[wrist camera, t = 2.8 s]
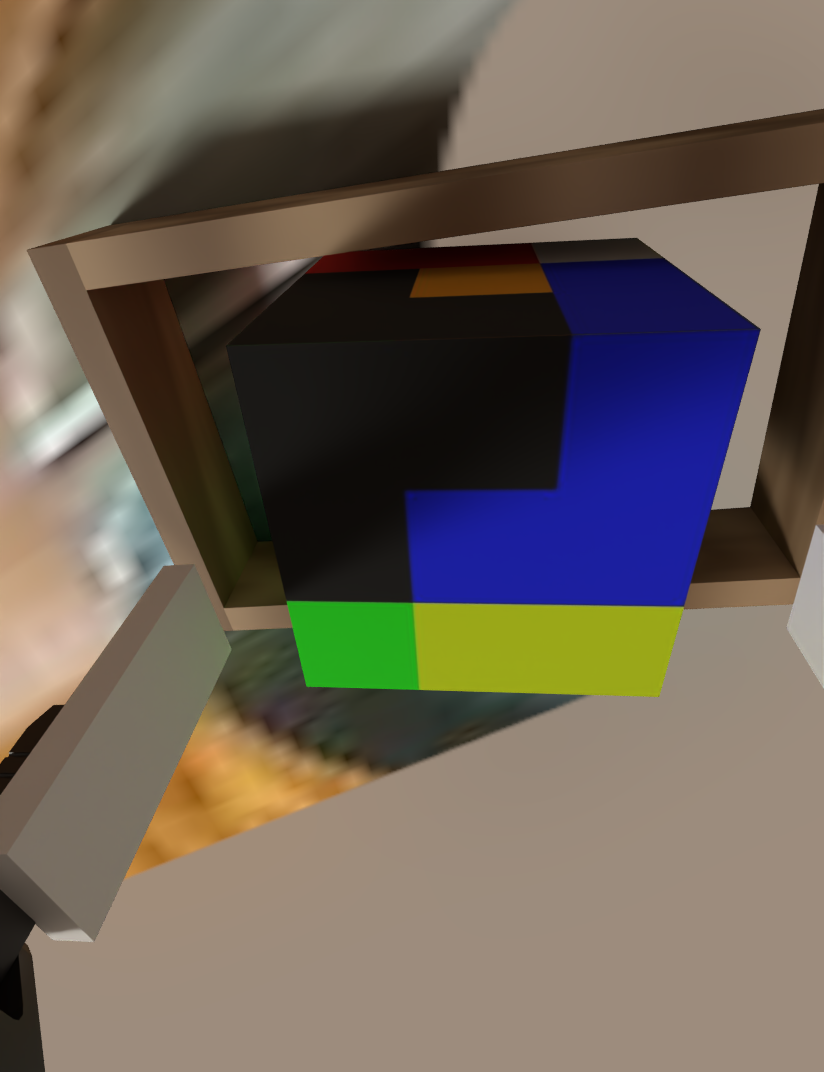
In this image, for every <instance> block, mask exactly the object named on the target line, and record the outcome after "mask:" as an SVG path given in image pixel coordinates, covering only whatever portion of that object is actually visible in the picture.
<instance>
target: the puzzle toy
mask: <svg viewBox="0 0 824 1072" xmlns="http://www.w3.org/2000/svg"><path fill="white" fill-rule="evenodd" d="M760 330H761V329H760V328H758V327H757V326H756V325H754V324H753V323H752V322H750V321H749V320H748V319H746V318H745V317H744V316H742V315H741V314H740V313H738V312H737V311H735V310H734V309H733V308H731V307H730V306H729V305H727V304H726V303H725V302H723V301H722V300H720V299H719V298H718V297H716V296H715V295H714V294H712V293H711V292H709V291H708V290H707V289H705V288H704V287H703V286H701V285H700V284H699V283H697V282H696V281H695V280H693V279H692V278H690V277H689V276H688V275H687V274H685V273H684V272H682V271H681V270H680V269H678V268H677V267H676V266H674V265H673V264H672V263H670V262H669V261H667V260H666V259H665V258H663V257H662V256H661V255H659V254H658V253H656V252H655V251H654V250H653V249H651V248H650V247H648V246H647V245H646V244H644V243H643V242H642V241H640V240H639V239H638V238H620V239H600V240H578V241H557V242H536V243H515V244H493V245H472V246H450V247H433V248H417V249H395V250H374V251H353V252H345V253H339V254H332V255H325V256H323V257H322V258H321V259H320V260H319V261H318V262H317V263H316V264H315V265H314V266H313V267H311V268H310V269H309V270H308V271H307V272H306V273H305V274H304V275H303V276H302V277H301V278H299V279H298V280H297V281H296V282H295V283H294V284H293V285H292V286H291V287H290V288H289V289H287V290H286V291H285V292H284V293H283V294H282V295H281V296H280V297H279V298H278V299H277V300H276V301H274V302H273V303H272V304H271V305H270V306H269V307H268V308H267V309H266V310H265V311H264V312H262V313H261V314H260V315H259V316H258V317H257V318H256V319H255V320H254V321H253V322H252V323H250V324H249V325H248V326H247V327H246V328H245V329H244V330H243V331H242V332H241V333H240V334H238V335H237V336H236V337H235V338H234V339H233V340H232V341H231V342H230V343H229V344H228V345H227V346H226V347H227V351H228V356H229V360H230V364H231V368H232V373H233V377H234V381H235V385H236V390H237V394H238V398H239V402H240V407H241V411H242V415H243V419H244V423H245V428H246V432H247V436H248V440H249V445H250V449H251V453H252V457H253V462H254V466H255V470H256V474H257V479H258V483H259V487H260V491H261V495H262V500H263V504H264V508H265V512H266V517H267V521H268V525H269V529H270V534H271V538H272V542H273V546H274V551H275V555H276V559H277V563H278V567H279V572H280V576H281V580H282V584H283V589H284V593H285V597H286V601H287V606H288V610H289V614H290V618H291V623H292V627H293V631H294V635H295V640H296V644H297V648H298V652H299V656H300V661H301V665H302V669H303V673H304V678H305V682H306V686H311V687H344V688H378V689H412V690H445V691H479V692H512V693H546V694H580V695H614V696H648V697H659V696H660V692H661V688H662V684H663V681H664V677H665V674H666V670H667V666H668V663H669V659H670V656H671V652H672V648H673V645H674V641H675V637H676V634H677V630H678V627H679V623H680V620H681V616H682V612H683V609H684V605H685V601H686V598H687V594H688V591H689V587H690V583H691V580H692V576H693V573H694V569H695V565H696V562H697V558H698V554H699V551H700V547H701V544H702V540H703V536H704V533H705V529H706V526H707V522H708V518H709V515H710V511H711V507H712V504H713V500H714V496H715V493H716V489H717V486H718V482H719V478H720V475H721V471H722V468H723V464H724V460H725V457H726V453H727V450H728V446H729V442H730V439H731V435H732V431H733V428H734V424H735V420H736V417H737V413H738V410H739V406H740V402H741V399H742V395H743V392H744V388H745V384H746V381H747V377H748V373H749V370H750V366H751V363H752V359H753V355H754V352H755V348H756V344H757V341H758V337H759V333H760Z"/></svg>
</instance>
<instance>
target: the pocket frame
mask: <svg viewBox="0 0 824 1072" xmlns="http://www.w3.org/2000/svg"><path fill="white" fill-rule="evenodd" d="M811 184H819V187H818V191H817V196H816V201H815V206H814V210H813V215H812V219H811V224H810V229H809V234H808V238H807V243H806V248H805V253H804V257H803V262H802V266H801V271H800V277H799V281H798V285H797V290H796V295H795V299H794V305H793V309H792V314H791V318H790V323H789V328H788V333H787V337H786V342H785V346H784V351H783V356H782V361H781V365H780V370H779V375H778V379H777V384H776V389H775V393H774V399H773V403H772V408H771V412H770V417H769V422H768V426H767V432H766V436H765V441H764V445H763V450H762V455H761V459H760V464H759V469H758V474H757V479H756V483H755V487H754V493H753V497H752V502H751V506H750V507H746V508H731V509H717V510H711V511H710V515H709V518H708V522H707V526H706V529H705V533H704V536H703V540H702V544H701V547H700V551H699V554H698V558H697V562H696V565H695V569H694V573H693V576H692V580H691V583H690V587H689V591H688V594H687V598H686V601H685V605H684V609H701V608H722V607H743V606H764V605H765V606H766V605H787V604H794V600H795V596H796V593H797V589H798V586H799V582H800V579H801V575H802V572H803V568H804V565H805V561H806V558H807V554H808V551H809V547H810V544H811V540H812V537H813V533H814V530H815V526H816V525H821V524H824V109H820V110H813V111H807V112H801V113H795V114H789V115H783V116H777V117H771V118H764V119H759V120H752V121H746V122H740V123H734V124H728V125H722V126H716V127H710V128H704V129H697V130H691V131H685V132H679V133H673V134H666V135H661V136H654V137H649V138H642V139H636V140H630V141H623V142H617V143H612V144H605V145H599V146H593V147H587V148H581V149H575V150H568V151H562V152H556V153H550V154H544V155H538V156H532V157H526V158H519V159H513V160H507V161H501V162H495V163H489V164H482V165H476V166H470V167H464V168H458V169H452V170H446V171H440V172H433V173H427V174H421V175H415V176H409V177H403V178H397V179H390V180H384V181H378V182H372V183H366V184H360V185H354V186H348V187H341V188H335V189H329V190H323V191H317V192H311V193H305V194H299V195H292V196H286V197H280V198H274V199H268V200H262V201H256V202H249V203H243V204H237V205H231V206H225V207H219V208H213V209H207V210H200V211H194V212H188V213H182V214H176V215H170V216H164V217H158V218H151V219H145V220H139V221H133V222H127V223H121V224H115V225H109V226H105V227H102V228H99V229H95V230H92V231H89V232H85V233H82V234H79V235H75V236H72V237H68V238H65V239H62V240H58V241H55V242H52V243H48V244H45V245H42V246H38V247H35V248H31V249H28V250H27V252H28V254H29V256H30V258H31V261H32V263H33V265H34V267H35V269H36V271H37V273H38V276H39V278H40V280H41V282H42V284H43V286H44V288H45V290H46V293H47V295H48V297H49V299H50V301H51V303H52V305H53V307H54V310H55V312H56V314H57V316H58V318H59V320H60V322H61V325H62V327H63V329H64V331H65V333H66V335H67V337H68V339H69V342H70V344H71V346H72V348H73V350H74V352H75V354H76V356H77V359H78V361H79V363H80V365H81V367H82V369H83V371H84V374H85V376H86V378H87V380H88V382H89V384H90V386H91V388H92V391H93V393H94V395H95V397H96V399H97V401H98V403H99V405H100V408H101V410H102V412H103V414H104V416H105V418H106V420H107V423H108V425H109V427H110V429H111V431H112V433H113V435H114V437H115V440H116V442H117V444H118V446H119V448H120V450H121V452H122V454H123V457H124V459H125V461H126V463H127V465H128V467H129V469H130V472H131V474H132V476H133V478H134V480H135V482H136V484H137V486H138V489H139V491H140V493H141V495H142V497H143V499H144V501H145V503H146V506H147V508H148V510H149V512H150V514H151V516H152V518H153V521H154V523H155V525H156V527H157V529H158V531H159V533H160V535H161V538H162V540H163V542H164V544H165V546H166V548H167V550H168V552H169V555H170V557H171V559H172V561H173V563H174V565H186V564H195V567H196V569H197V571H198V573H199V576H200V578H201V580H202V583H203V585H204V587H205V589H206V592H207V594H208V596H209V599H210V601H211V603H212V606H213V608H214V610H215V612H216V615H217V617H218V619H219V622H220V624H221V626H222V628H223V631H231V630H252V629H274V628H293V627H292V623H291V618H290V614H289V610H288V606H287V601H286V597H285V593H284V589H283V584H282V580H281V576H280V572H279V567H278V563H277V559H276V555H275V551H274V546H273V542H272V541H263V542H257V539H256V536H255V533H254V531H253V528H252V525H251V522H250V519H249V517H248V514H247V511H246V508H245V505H244V503H243V500H242V497H241V494H240V491H239V489H238V486H237V483H236V480H235V478H234V475H233V472H232V469H231V466H230V464H229V461H228V458H227V455H226V452H225V450H224V447H223V444H222V441H221V439H220V436H219V433H218V430H217V427H216V425H215V422H214V419H213V416H212V413H211V411H210V408H209V405H208V402H207V399H206V397H205V394H204V391H203V388H202V386H201V383H200V380H199V377H198V374H197V372H196V369H195V366H194V363H193V360H192V358H191V355H190V352H189V349H188V347H187V344H186V341H185V338H184V335H183V333H182V330H181V327H180V324H179V321H178V319H177V316H176V313H175V310H174V307H173V305H172V302H171V299H170V296H169V294H168V291H167V288H166V285H165V282H164V280H163V279H167V278H174V277H181V276H188V275H194V274H201V273H208V272H215V271H222V270H229V269H236V268H242V267H249V266H256V265H263V264H270V263H277V262H284V261H291V260H297V259H304V258H311V257H318V256H325V255H332V254H339V253H345V252H352V251H359V250H366V249H373V248H380V247H387V246H394V245H400V244H407V243H414V242H421V241H428V240H435V239H441V238H448V237H455V236H462V235H469V234H476V233H482V232H490V231H496V230H503V229H510V228H517V227H524V226H531V225H537V224H545V223H551V222H558V221H565V220H572V219H579V218H586V217H593V216H599V215H606V214H613V213H620V212H627V211H634V210H641V209H647V208H654V207H661V206H668V205H674V204H682V203H689V202H696V201H702V200H709V199H716V198H723V197H730V196H737V195H744V194H750V193H757V192H764V191H771V190H778V189H784V188H792V187H798V186H805V185H811Z"/></svg>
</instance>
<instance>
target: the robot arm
mask: <svg viewBox="0 0 824 1072" xmlns="http://www.w3.org/2000/svg"><path fill="white" fill-rule="evenodd" d="M787 630H788V631H789V633H790V634H791V636H792V638H793V639H794V641H795V643H796V644H797V646H798V648H799V649H800V651H801V652H802V654H803V656H804V657H805V659H806V661H807V662H808V664H809V665H810V667H811V669H812V670H813V672H814V673H815V675H816V677H817V678H818V680H819V681H820V683H821V685H822V686H823V688H824V524H821V525H816V526H815V530H814V533H813V537H812V540H811V544H810V547H809V551H808V554H807V558H806V561H805V565H804V568H803V572H802V575H801V579H800V582H799V586H798V589H797V593H796V596H795V600H794V604H793V607H792V611H791V614H790V618H789V621H788V625H787ZM231 650H232V649H231V647H230V645H229V642H228V640H227V638H226V635H225V633H224V631H223V628H222V626H221V624H220V622H219V619H218V617H217V615H216V612H215V610H214V608H213V606H212V603H211V601H210V599H209V596H208V594H207V592H206V589H205V587H204V585H203V583H202V580H201V578H200V576H199V573H198V571H197V569H196V567H195V564H186V565H171V566H163V568H162V569H161V571H160V572H159V573H158V575H157V576H156V578H155V579H154V580H153V582H152V583H151V585H150V586H149V587H148V589H147V590H146V592H145V593H144V594H143V596H142V597H141V599H140V600H139V601H138V603H137V604H136V606H135V607H134V608H133V610H132V611H131V613H130V614H129V615H128V617H127V618H126V620H125V621H124V622H123V624H122V625H121V627H120V628H119V630H118V631H117V632H116V634H115V635H114V637H113V638H112V639H111V641H110V642H109V644H108V645H107V646H106V648H105V649H104V651H103V652H102V653H101V655H100V656H99V658H98V659H97V660H96V662H95V663H94V665H93V666H92V667H91V669H90V670H89V672H88V673H87V674H86V676H85V677H84V679H83V680H82V681H81V683H80V684H79V686H78V687H77V688H76V690H75V691H74V693H73V694H72V695H71V697H70V698H69V700H68V701H67V702H66V704H65V705H53V706H52V707H51V708H50V709H48V710H47V711H46V712H45V713H44V714H43V715H41V716H40V717H39V718H38V719H37V720H36V721H34V722H33V723H32V724H31V725H30V726H29V727H28V728H27V729H26V730H25V732H24V733H23V734H22V736H21V737H20V738H19V740H18V741H17V742H16V744H15V745H14V746H13V748H12V749H11V750H10V752H9V757H5V758H4V760H3V761H2V762H1V764H0V1072H45V1067H44V1058H43V1049H42V1040H41V1031H40V1022H39V1013H38V1004H37V995H36V987H35V978H34V969H33V961H32V955H31V953H30V950H29V947H28V945H27V944H26V943H25V941H26V939H27V938H28V936H29V934H30V932H31V930H32V929H33V927H34V925H35V924H36V925H37V926H38V927H39V928H40V929H41V930H43V931H44V932H45V933H46V934H47V935H48V936H49V937H50V938H51V939H52V940H65V941H86V942H94V941H95V939H96V937H97V935H98V933H99V930H100V928H101V926H102V924H103V922H104V920H105V918H106V915H107V913H108V911H109V909H110V907H111V905H112V903H113V901H114V899H115V897H116V894H117V892H118V890H119V888H120V886H121V884H122V882H123V879H124V877H125V875H126V873H127V871H128V869H129V867H130V865H131V862H132V860H133V858H134V856H135V854H136V852H137V850H138V848H139V845H140V843H141V841H142V839H143V837H144V835H145V833H146V831H147V828H148V826H149V824H150V822H151V820H152V818H153V816H154V814H155V811H156V809H157V807H158V805H159V803H160V801H161V799H162V796H163V794H164V792H165V790H166V788H167V786H168V784H169V782H170V779H171V777H172V775H173V773H174V771H175V769H176V767H177V765H178V762H179V760H180V758H181V756H182V754H183V752H184V750H185V748H186V745H187V743H188V741H189V739H190V737H191V735H192V733H193V730H194V728H195V726H196V724H197V722H198V720H199V718H200V716H201V713H202V711H203V709H204V707H205V705H206V703H207V701H208V699H209V696H210V694H211V692H212V690H213V688H214V686H215V684H216V682H217V679H218V677H219V675H220V673H221V671H222V669H223V667H224V665H225V662H226V660H227V658H228V656H229V654H230V652H231Z"/></svg>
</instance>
